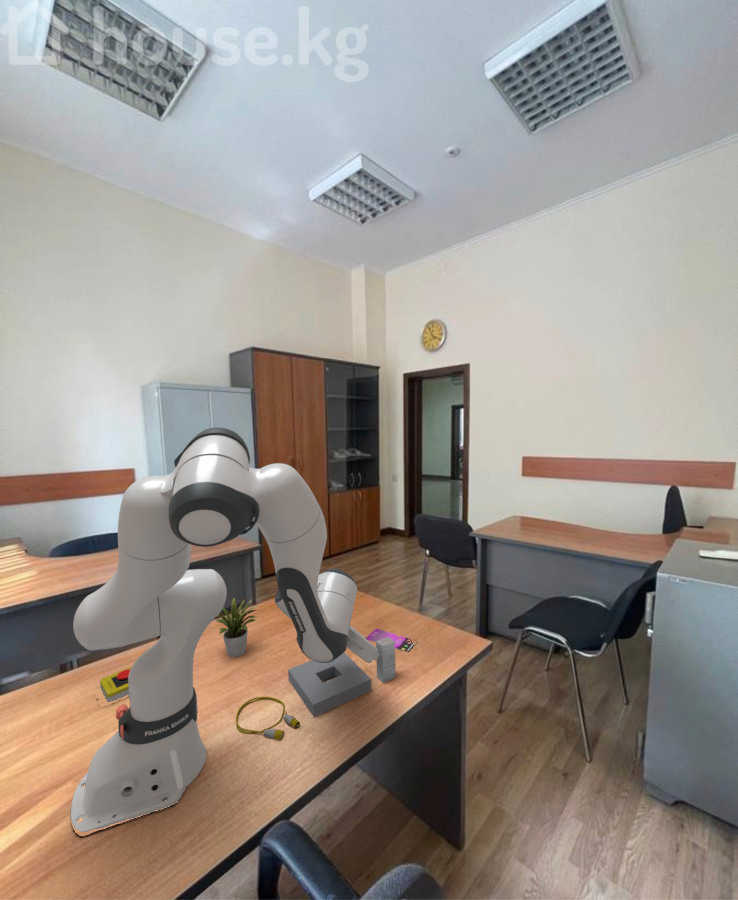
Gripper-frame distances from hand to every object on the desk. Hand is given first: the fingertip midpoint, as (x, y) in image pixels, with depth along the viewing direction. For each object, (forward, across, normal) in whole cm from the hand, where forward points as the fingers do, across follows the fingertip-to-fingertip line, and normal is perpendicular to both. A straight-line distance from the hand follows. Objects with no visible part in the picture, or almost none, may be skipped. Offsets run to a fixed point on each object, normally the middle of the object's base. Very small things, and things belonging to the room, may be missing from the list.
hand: (366, 647), depth 99 cm
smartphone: (+21, +15, -4) cm, 26 cm away
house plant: (-10, +35, +25) cm, 44 cm away
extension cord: (-10, +4, +26) cm, 28 cm away
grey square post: (+12, +1, +3) cm, 13 cm away
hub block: (+2, +7, +13) cm, 15 cm away
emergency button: (-29, +36, +45) cm, 64 cm away
